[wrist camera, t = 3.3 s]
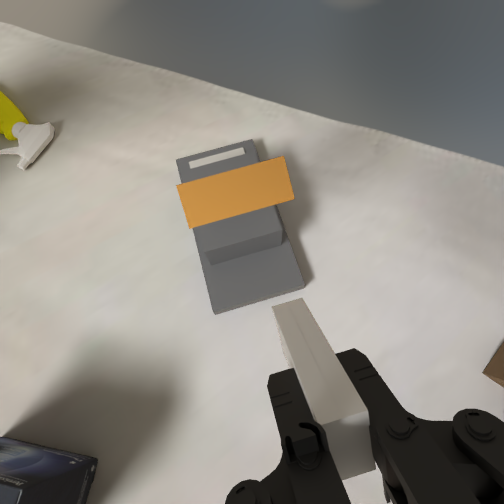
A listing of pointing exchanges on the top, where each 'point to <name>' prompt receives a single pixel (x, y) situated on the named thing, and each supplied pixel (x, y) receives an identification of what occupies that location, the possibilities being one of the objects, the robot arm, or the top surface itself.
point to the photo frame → (496, 367)
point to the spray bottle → (22, 133)
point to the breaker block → (241, 240)
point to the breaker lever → (235, 192)
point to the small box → (43, 474)
